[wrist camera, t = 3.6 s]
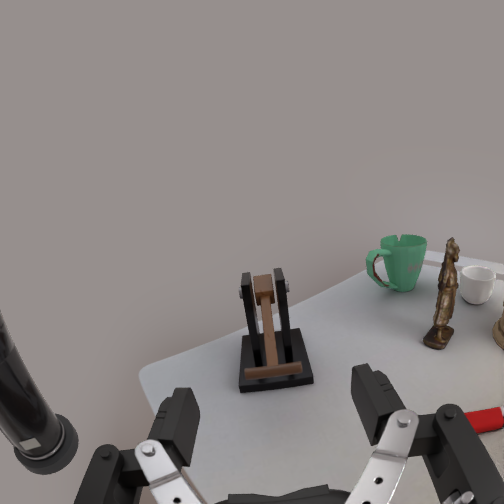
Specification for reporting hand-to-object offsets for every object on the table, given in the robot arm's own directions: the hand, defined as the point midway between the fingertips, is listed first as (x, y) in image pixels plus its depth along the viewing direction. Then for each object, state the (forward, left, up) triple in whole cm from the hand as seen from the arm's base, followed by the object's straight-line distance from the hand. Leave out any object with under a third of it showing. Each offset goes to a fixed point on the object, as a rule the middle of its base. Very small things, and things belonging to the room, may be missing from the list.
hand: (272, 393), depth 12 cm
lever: (+4, +17, -6) cm, 18 cm away
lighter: (+19, -5, -14) cm, 24 cm away
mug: (+34, +28, -14) cm, 47 cm away
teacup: (+44, +14, -14) cm, 49 cm away
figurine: (+27, +10, -14) cm, 33 cm away
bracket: (+5, +20, -14) cm, 25 cm away
